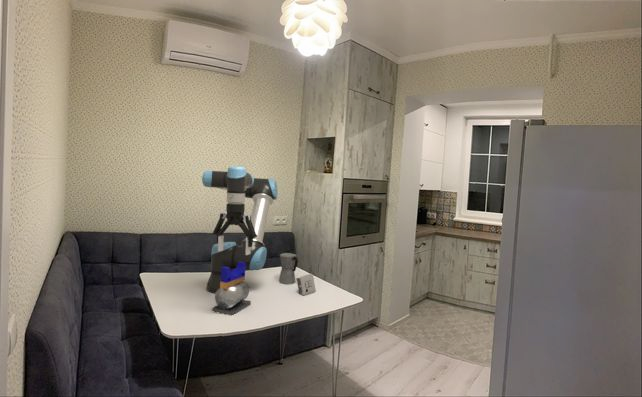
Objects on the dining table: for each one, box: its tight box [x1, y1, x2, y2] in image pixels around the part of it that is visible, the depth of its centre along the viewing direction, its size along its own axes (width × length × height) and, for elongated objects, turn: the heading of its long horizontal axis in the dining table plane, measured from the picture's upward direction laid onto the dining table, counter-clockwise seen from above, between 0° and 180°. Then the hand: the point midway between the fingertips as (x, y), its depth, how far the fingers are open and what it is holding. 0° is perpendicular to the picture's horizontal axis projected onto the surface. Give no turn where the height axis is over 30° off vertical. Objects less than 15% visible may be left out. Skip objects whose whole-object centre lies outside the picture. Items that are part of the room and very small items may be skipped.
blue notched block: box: [221, 262, 246, 283], centre depth 143 cm, size 12×4×6 cm, turn 155°
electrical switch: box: [296, 273, 316, 296], centre depth 169 cm, size 9×5×9 cm, turn 141°
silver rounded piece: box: [211, 275, 252, 316], centre depth 144 cm, size 14×10×13 cm
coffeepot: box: [278, 249, 299, 285], centre depth 185 cm, size 15×9×18 cm, turn 39°
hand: (234, 252), depth 144 cm, fingers open, 13 cm apart
